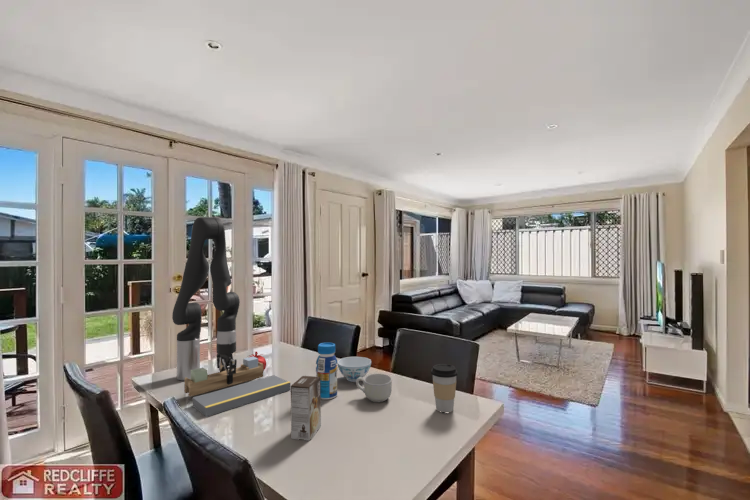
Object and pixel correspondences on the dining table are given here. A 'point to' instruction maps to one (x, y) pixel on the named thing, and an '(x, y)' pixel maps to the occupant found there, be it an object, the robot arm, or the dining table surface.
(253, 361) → the pale blue block
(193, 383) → the long wooden trough
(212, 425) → the dining table surface
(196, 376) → the block
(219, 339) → the robot arm
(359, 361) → the chinaware
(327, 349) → the beverage bottle
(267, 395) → the plate
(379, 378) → the teacup
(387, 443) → the dining table surface
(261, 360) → the pomegranate
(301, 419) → the coffee box
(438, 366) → the coffee cup
